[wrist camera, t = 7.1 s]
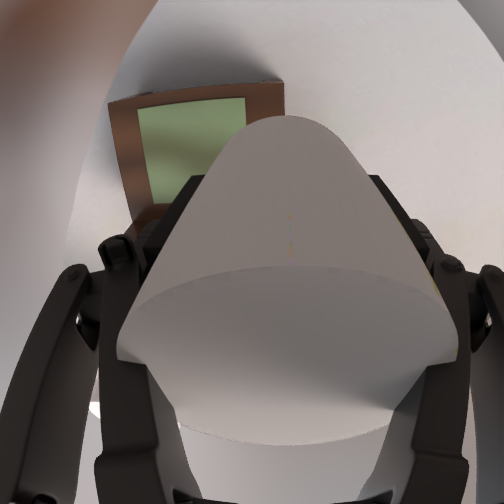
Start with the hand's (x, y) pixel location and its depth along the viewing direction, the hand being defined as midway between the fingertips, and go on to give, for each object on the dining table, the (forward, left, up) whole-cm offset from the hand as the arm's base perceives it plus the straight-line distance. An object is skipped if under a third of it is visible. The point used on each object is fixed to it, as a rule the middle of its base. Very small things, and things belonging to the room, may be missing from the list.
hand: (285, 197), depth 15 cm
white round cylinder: (0, 0, -1) cm, 1 cm away
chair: (+2, -8, -17) cm, 19 cm away
